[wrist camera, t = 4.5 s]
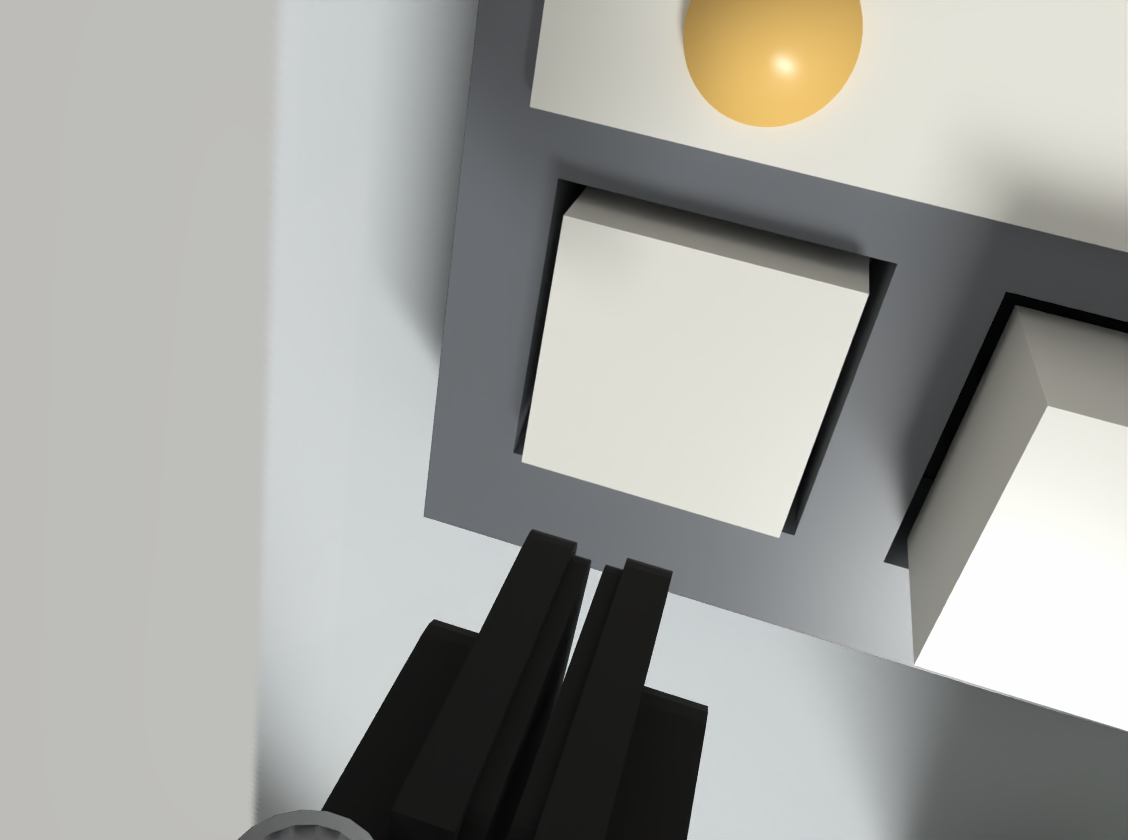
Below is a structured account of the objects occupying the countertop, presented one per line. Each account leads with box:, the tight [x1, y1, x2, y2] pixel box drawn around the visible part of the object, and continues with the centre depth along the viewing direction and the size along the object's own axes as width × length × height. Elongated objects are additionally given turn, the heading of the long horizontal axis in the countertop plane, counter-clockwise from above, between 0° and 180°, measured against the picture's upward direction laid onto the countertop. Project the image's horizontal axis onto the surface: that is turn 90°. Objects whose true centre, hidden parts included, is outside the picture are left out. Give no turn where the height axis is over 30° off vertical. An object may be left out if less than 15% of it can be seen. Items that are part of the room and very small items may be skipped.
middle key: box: [907, 305, 1128, 731], centre depth 14 cm, size 4×4×3 cm
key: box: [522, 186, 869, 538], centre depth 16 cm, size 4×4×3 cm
